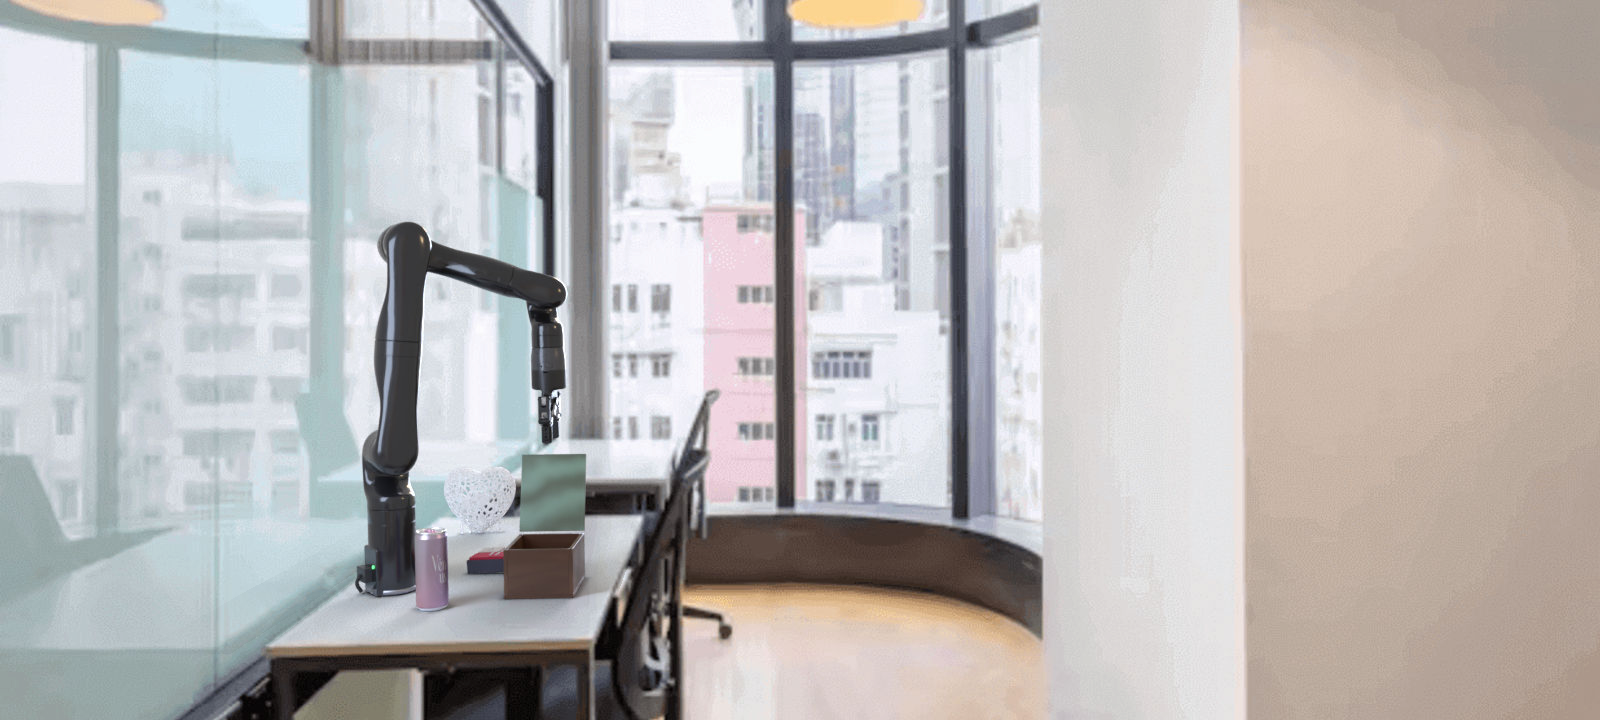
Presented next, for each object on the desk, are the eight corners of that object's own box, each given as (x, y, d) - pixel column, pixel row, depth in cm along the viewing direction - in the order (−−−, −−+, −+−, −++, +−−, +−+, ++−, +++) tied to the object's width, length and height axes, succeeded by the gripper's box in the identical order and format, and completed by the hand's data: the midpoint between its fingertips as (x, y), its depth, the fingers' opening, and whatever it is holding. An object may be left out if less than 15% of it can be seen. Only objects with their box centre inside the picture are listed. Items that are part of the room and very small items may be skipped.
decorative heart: (439, 538, 270) (438, 470, 269) (450, 529, 281) (449, 464, 280) (512, 536, 271) (510, 469, 270) (520, 527, 282) (519, 463, 281)
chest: (573, 597, 213) (572, 549, 212) (504, 599, 212) (503, 550, 212) (585, 578, 228) (584, 532, 228) (520, 579, 228) (519, 533, 227)
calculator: (483, 546, 243) (548, 543, 242) (484, 565, 243) (549, 562, 242) (465, 557, 232) (533, 554, 231) (466, 577, 232) (534, 574, 231)
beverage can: (437, 601, 211) (436, 526, 210) (455, 606, 207) (453, 529, 206) (410, 608, 206) (408, 531, 205) (427, 613, 202) (425, 535, 202)
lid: (585, 453, 231) (586, 454, 232) (522, 454, 230) (522, 455, 231) (584, 530, 227) (584, 530, 228) (519, 531, 227) (520, 531, 228)
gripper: (537, 366, 243) (539, 437, 244) (524, 370, 229) (527, 445, 230) (570, 365, 244) (573, 436, 244) (560, 369, 229) (562, 444, 230)
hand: (550, 440), depth 237 cm, fingers open, 8 cm apart
